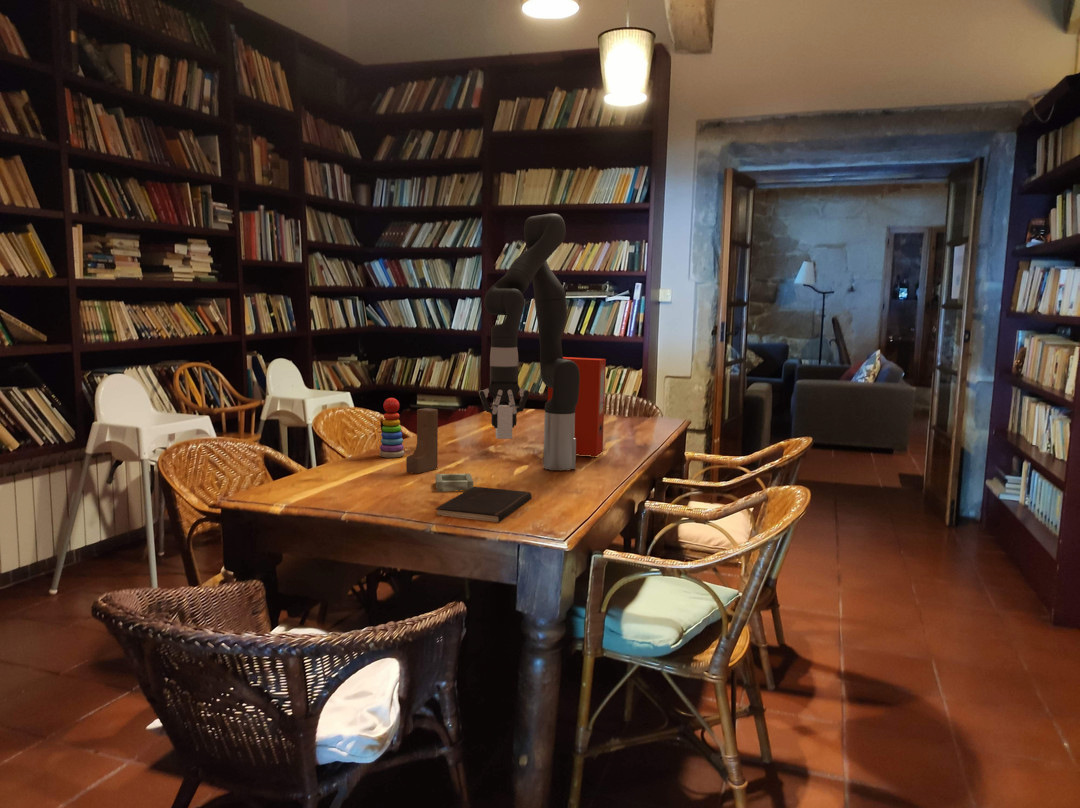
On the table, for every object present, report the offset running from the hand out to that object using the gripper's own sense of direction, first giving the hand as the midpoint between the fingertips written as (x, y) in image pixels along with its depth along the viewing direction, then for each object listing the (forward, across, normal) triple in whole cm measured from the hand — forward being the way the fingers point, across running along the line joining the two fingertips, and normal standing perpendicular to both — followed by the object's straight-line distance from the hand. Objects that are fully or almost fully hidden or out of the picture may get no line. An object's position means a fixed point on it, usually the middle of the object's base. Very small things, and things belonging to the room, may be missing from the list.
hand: (503, 427), depth 205 cm
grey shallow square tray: (+16, +14, 0) cm, 21 cm away
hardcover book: (+17, +7, +21) cm, 28 cm away
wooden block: (+16, +21, -21) cm, 34 cm away
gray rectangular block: (+3, 0, 0) cm, 3 cm away
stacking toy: (+16, +30, -43) cm, 55 cm away
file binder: (+17, -30, -43) cm, 55 cm away
